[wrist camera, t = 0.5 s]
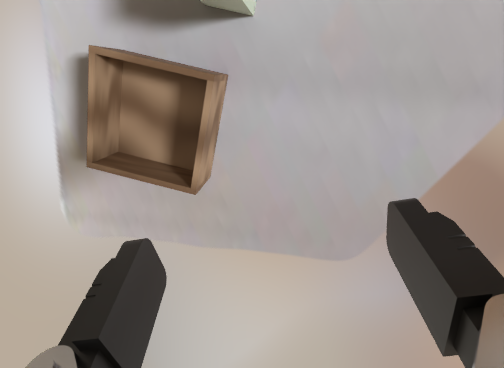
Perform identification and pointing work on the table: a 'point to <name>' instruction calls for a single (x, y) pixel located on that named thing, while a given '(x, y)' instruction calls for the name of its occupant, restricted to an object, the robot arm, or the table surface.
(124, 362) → the robot arm
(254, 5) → the green square vase
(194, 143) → the walnut crate
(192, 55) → the table surface
